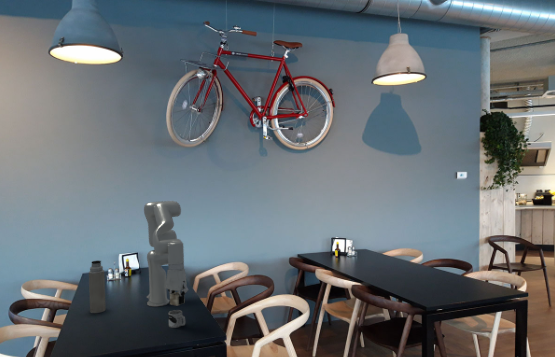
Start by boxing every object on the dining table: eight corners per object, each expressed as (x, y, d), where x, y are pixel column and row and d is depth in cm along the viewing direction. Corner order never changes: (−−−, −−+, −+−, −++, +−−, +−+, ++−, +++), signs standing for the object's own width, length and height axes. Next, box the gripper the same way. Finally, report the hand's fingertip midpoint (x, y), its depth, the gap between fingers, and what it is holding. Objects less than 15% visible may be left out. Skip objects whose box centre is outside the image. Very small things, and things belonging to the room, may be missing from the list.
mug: (166, 326, 213) (165, 313, 213) (176, 322, 219) (175, 309, 218) (180, 330, 208) (179, 316, 207) (190, 325, 213) (189, 312, 213)
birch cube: (170, 304, 212) (169, 294, 212) (177, 301, 216) (177, 291, 216) (177, 305, 209) (176, 295, 209) (184, 302, 213) (184, 293, 213)
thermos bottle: (87, 311, 239) (86, 261, 239) (102, 307, 245) (100, 258, 244) (93, 314, 234) (91, 263, 233) (107, 310, 239) (106, 260, 238)
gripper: (158, 266, 214) (159, 302, 214) (183, 269, 205) (184, 307, 205) (170, 263, 220) (171, 298, 220) (194, 266, 211) (195, 303, 211)
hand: (177, 302), depth 213 cm, fingers closed on birch cube, 5 cm apart
